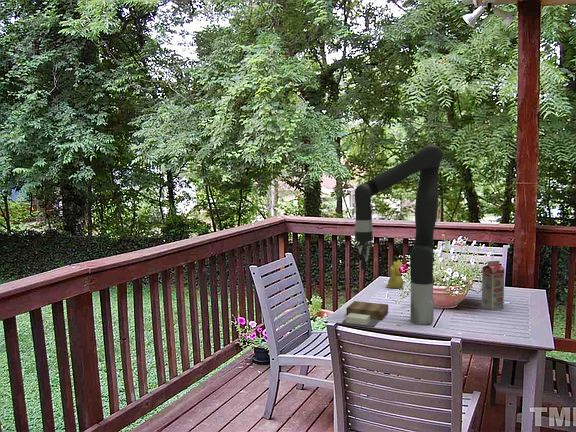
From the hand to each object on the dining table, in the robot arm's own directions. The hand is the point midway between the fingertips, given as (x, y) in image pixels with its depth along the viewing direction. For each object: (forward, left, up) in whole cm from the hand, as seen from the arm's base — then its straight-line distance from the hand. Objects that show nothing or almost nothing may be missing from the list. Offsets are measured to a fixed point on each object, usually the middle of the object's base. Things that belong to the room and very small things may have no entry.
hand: (364, 269), depth 215 cm
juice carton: (-51, -38, -22) cm, 67 cm away
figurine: (-1, -60, -22) cm, 64 cm away
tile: (+1, +7, -20) cm, 21 cm away
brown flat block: (0, -6, -22) cm, 23 cm away
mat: (0, +5, -22) cm, 23 cm away
